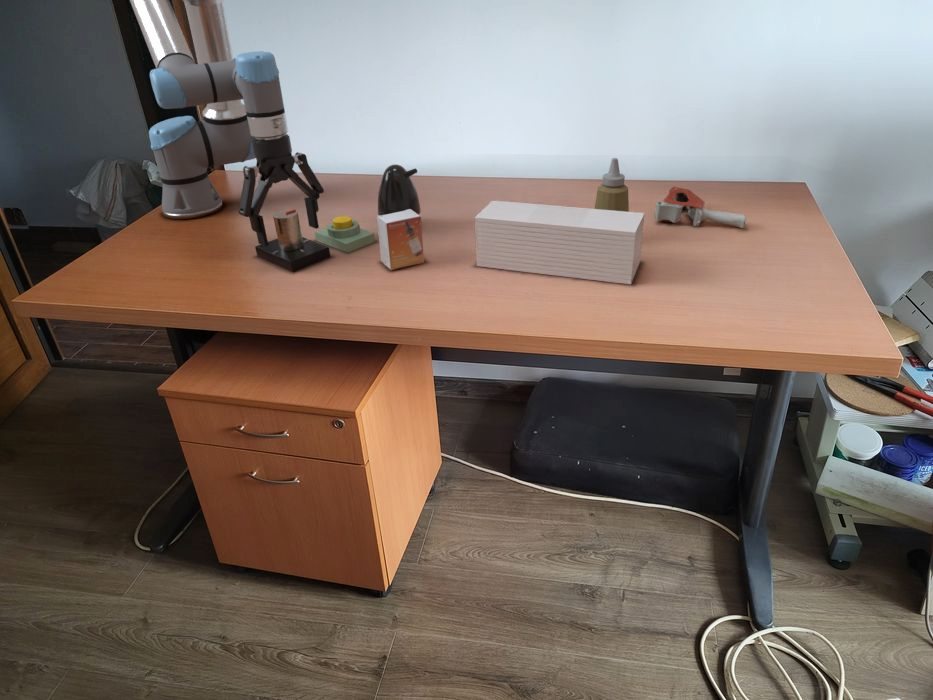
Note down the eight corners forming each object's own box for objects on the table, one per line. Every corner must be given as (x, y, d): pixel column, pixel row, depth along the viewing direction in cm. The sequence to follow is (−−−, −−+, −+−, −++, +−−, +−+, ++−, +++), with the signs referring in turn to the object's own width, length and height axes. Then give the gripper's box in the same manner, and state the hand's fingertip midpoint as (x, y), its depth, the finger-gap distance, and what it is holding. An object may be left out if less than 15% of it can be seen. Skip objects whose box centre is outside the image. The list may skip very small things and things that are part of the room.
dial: (288, 252, 145) (281, 218, 141) (275, 247, 148) (268, 213, 144) (308, 245, 148) (302, 211, 144) (294, 240, 151) (288, 206, 147)
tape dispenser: (749, 235, 152) (698, 203, 168) (755, 213, 149) (702, 182, 165) (682, 244, 147) (635, 210, 163) (687, 221, 144) (639, 189, 160)
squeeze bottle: (631, 235, 151) (638, 155, 142) (623, 248, 145) (629, 165, 136) (596, 231, 154) (601, 152, 145) (586, 243, 148) (590, 162, 139)
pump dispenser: (416, 235, 157) (410, 171, 149) (374, 234, 159) (366, 171, 151) (427, 220, 165) (422, 158, 158) (387, 219, 167) (380, 158, 160)
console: (257, 256, 151) (254, 245, 149) (294, 243, 157) (292, 232, 155) (292, 272, 142) (290, 261, 141) (330, 257, 148) (328, 246, 147)
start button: (329, 227, 154) (328, 220, 153) (344, 221, 157) (343, 214, 156) (341, 231, 152) (340, 224, 151) (356, 225, 154) (355, 218, 153)
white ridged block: (639, 263, 138) (644, 212, 133) (630, 284, 130) (635, 232, 124) (493, 247, 149) (492, 200, 143) (476, 266, 141) (474, 217, 135)
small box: (390, 271, 140) (385, 223, 135) (380, 262, 145) (375, 215, 139) (425, 262, 143) (421, 215, 138) (414, 254, 148) (410, 208, 142)
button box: (316, 240, 157) (313, 224, 155) (343, 230, 162) (340, 214, 160) (347, 252, 150) (345, 236, 148) (375, 241, 155) (373, 225, 153)
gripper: (224, 151, 126) (249, 257, 137) (330, 125, 141) (344, 223, 152) (205, 146, 131) (230, 248, 142) (309, 121, 145) (325, 216, 156)
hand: (289, 235), depth 147 cm, fingers open, 12 cm apart
